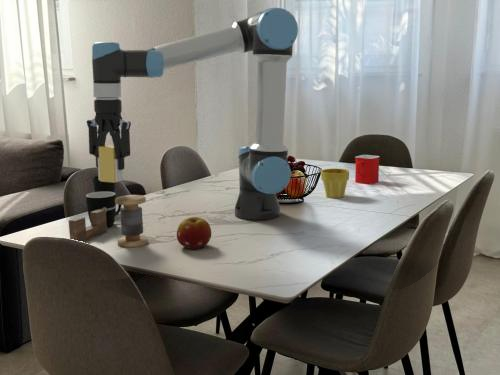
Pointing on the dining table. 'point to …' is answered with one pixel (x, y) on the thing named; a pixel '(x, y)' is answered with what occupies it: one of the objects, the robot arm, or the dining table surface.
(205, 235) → the fruit
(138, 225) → the bobbin
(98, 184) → the cup
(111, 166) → the yellow block
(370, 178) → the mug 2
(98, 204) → the mug
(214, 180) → the dining table surface
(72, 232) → the notched board
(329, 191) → the plant pot
